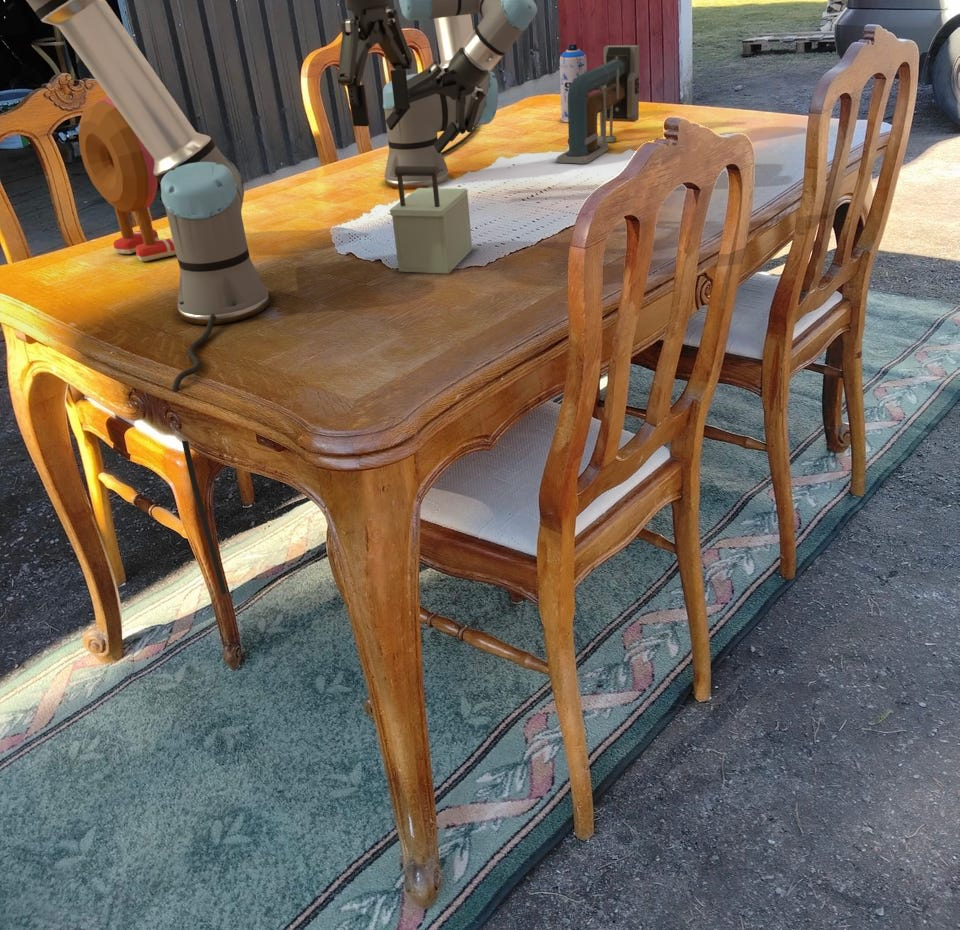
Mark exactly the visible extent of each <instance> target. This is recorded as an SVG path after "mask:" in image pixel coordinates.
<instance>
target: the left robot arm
mask: <svg viewBox="0 0 960 930" xmlns="http://www.w3.org/2000/svg"><path fill="white" fill-rule="evenodd" d="M25 1H26V2H27V3H28V5H29V6H30V7H31V8H32V10H33V11H34V13H35V14H36V16H37V17H38V19H40V21H41V22H42V23H45V24H49V25H52V26H55V27H57V28H58V30H59V31H60V32H61V33H62V35H63V36H64V38H65V39H66V40H67V42H68V43H69V44H70V46H71V47H72V49H73V50H74V51H75V53H76V55H77V56H78V57H79V58H80V60H81V61H82V62H83V64H84V66H86V68H87V69H88V71H89V72H90V74H91V75H92V76H93V78H94V79H95V80H96V82H97V83H98V84H99V86H100V87H101V89H102V90H103V91H104V93H105V94H106V95H107V97H108V99H111V101H112V102H113V104H114V105H115V106H116V108H117V109H118V111H119V112H120V113H121V115H122V116H123V117H124V119H125V120H126V122H127V123H128V124H129V126H130V127H131V128H132V130H133V131H134V133H135V134H136V135H137V137H138V138H139V139H140V141H141V142H142V144H143V145H144V146H145V148H146V149H147V151H148V152H149V153H150V155H151V156H152V157H153V159H154V163H155V164H154V171H153V174H154V175H155V177H156V178H157V182H159V184H160V191H161V192H160V195H161V197H160V198H161V202H162V204H163V206H164V208H165V212H166V213H165V214H166V217H167V221H168V225H169V229H170V234H171V238H173V242H174V246H175V250H176V255H175V256H176V258H177V262H178V266H179V283H178V294H177V310H178V314H179V318H180V319H182V320H183V321H184V322H186V323H189V324H193V325H202V326H203V325H204V326H205V325H206V328H205V331H204V332H203V334H202V335H201V336H200V337H199V338H198V339H196V340H195V341H194V342H193V343H192V344H190V346H189V347H188V349H187V355H188V358H189V359H190V360H191V361H192V363H193V366H192V367H190V368H187V369H184V370H183V371H181V372H180V373H179V374H177V376H175V378H174V380H173V384H172V389H171V391H172V393H177V392H178V391H180V385H181V383H182V381H183V379H185V378H186V377H189V376H190V375H194V374H196V373H197V372H198V371H199V370H200V367H201V361H200V360H199V358H198V357H197V355H196V354H195V350H196V349H197V348H198V347H199V346H201V345H202V344H203V343H204V342H205V341H206V340H207V339H209V337H210V335H211V333H212V330H213V327H214V325H222V324H230V323H233V322H239V321H241V320H245V319H248V318H251V317H253V316H256V315H258V314H260V312H263V311H264V310H265V309H266V308H267V307H268V306H269V305H270V296H269V291H268V289H267V287H266V284H265V283H264V282H263V280H262V278H261V276H260V274H259V272H258V270H257V269H256V267H255V265H254V264H253V262H252V260H251V257H250V251H249V246H248V241H247V236H246V232H245V227H244V222H243V221H244V220H243V216H242V210H243V202H244V197H245V185H244V182H243V178H242V175H241V174H240V172H239V169H237V166H236V165H235V164H234V163H233V162H232V161H231V160H230V159H229V158H227V157H226V156H224V155H223V153H222V152H221V150H220V149H219V148H218V146H217V145H216V144H215V142H214V141H213V139H212V138H211V136H209V135H207V134H203V133H199V132H197V131H196V130H195V128H194V127H193V126H192V124H191V123H190V121H189V119H188V118H187V117H186V115H185V114H184V112H183V110H181V108H180V106H179V105H178V103H177V102H176V101H175V99H174V98H173V97H172V95H171V94H170V92H169V91H168V89H167V88H166V86H165V85H164V83H163V81H161V79H160V77H159V76H158V75H157V73H156V72H155V70H154V69H153V67H152V66H151V65H150V63H149V62H148V61H147V59H146V57H145V56H144V54H143V53H142V51H141V50H140V48H139V47H138V46H137V44H136V43H135V41H134V39H132V37H131V34H129V33H128V31H127V30H126V28H125V27H124V25H123V24H122V23H121V21H120V19H119V18H118V16H117V15H116V14H115V12H114V10H113V9H112V7H111V6H110V5H109V4H108V2H107V0H25ZM344 2H345V8H346V10H347V11H351V12H352V18H348V19H345V18H343V19H342V20H341V23H340V25H341V44H340V50H339V51H340V53H339V62H338V68H337V69H338V70H337V78H336V79H337V80H336V81H337V83H338V84H340V85H341V87H342V86H343V87H346V88H347V95H348V100H349V101H348V102H349V106H350V111H351V118H352V126H353V127H369V126H370V120H369V114H368V113H369V112H368V105H367V98H366V92H365V91H366V89H365V84H361V83H362V79H363V75H364V70H365V67H366V62H367V59H368V56H369V52H370V50H371V49H372V48H373V46H374V45H376V44H378V46H379V47H380V49H381V51H382V52H383V54H384V55H385V57H386V59H387V60H388V62H389V64H390V65H391V67H392V69H391V70H390V72H389V73H390V79H391V80H390V81H392V89H393V98H394V106H395V109H410V106H409V96H408V87H407V76H406V75H407V70H411V69H412V63H413V56H412V53H411V51H410V48H409V45H408V42H407V40H406V37H405V35H404V34H405V33H404V32H403V29H402V26H401V24H400V21H399V13H398V10H397V9H396V8H389V7H391V4H392V0H344ZM386 8H387V9H386ZM181 444H182V448H183V454H184V458H185V463H186V467H187V472H188V475H189V479H190V483H191V487H192V493H193V496H194V500H195V503H196V507H197V510H198V514H199V517H200V522H201V525H202V528H203V532H204V536H205V539H206V543H207V546H208V550H209V554H210V558H211V561H212V564H213V565H212V566H213V568H214V572H215V576H216V579H217V583H218V587H219V590H220V594H221V595H226V594H227V589H226V588H227V587H226V585H225V580H224V577H223V574H222V569H221V566H220V561H219V558H218V554H217V550H216V546H215V543H214V539H213V536H212V533H211V529H210V526H209V525H210V524H209V522H208V517H207V514H206V511H205V507H204V503H203V499H202V495H201V491H200V487H199V484H198V483H199V482H198V479H197V475H196V471H195V466H194V462H193V457H192V454H191V448H190V442H189V440H181Z"/></svg>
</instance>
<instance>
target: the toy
mask: <svg viewBox="0 0 960 930" xmlns="http://www.w3.org/2000/svg"><path fill="white" fill-rule="evenodd" d="M78 146H79V152H80V155H81V156H80V157H81V160H82V163H83V166H84V169H85V171H86V173H87V175H88V177H89V179H90V181H91V184H93V186H94V187H95V189H96V190H97V191H98V193H99V194H100V195H101V196H102V198H104V200H105V201H106V202H107V203H108V204H109V205H111V206H112V207H113V209H114V212H115V215H116V218H117V223H118V226H119V230H120V234H121V237H120V238H118V239H116V240H114V241H113V248H114V252H115V253H117V254H122V255H130V254H134V253H135V254H136V257H137V259H138V260H139V261H141V262H147V261H148V262H149V261H153V260H157V259H164V258H167V257H172V256H177V255H176V250H175V246H174V242H173V238H172V237H169V238H165V239H160V238H159V234H158V232H157V230H156V229H154V228H153V224H152V219H151V215H150V212H149V209H148V208H149V207H150V206H151V205H152V203H153V202H154V200H155V198H156V195H157V190H158V179H157V178H156V177H155V175H154V174H153V171H154V164H155V163H154V159H153V157H152V156H151V155H150V153H149V152H148V151H147V149H146V148H145V146H144V145H143V144H142V142H141V141H140V139H139V138H138V137H137V135H136V134H135V133H134V131H133V130H132V128H131V127H130V126H129V124H128V123H127V122H126V120H125V119H124V117H123V116H122V115H121V113H120V112H119V111H118V109H117V108H116V106H115V105H114V104H113V102H112V101H111V99H110V98H107V97H103V98H101V99H99V100H97V101H95V102H93V103H91V104H89V105H88V106H86V107H85V108H84V109H83V110H82V114H81V116H80V120H79V124H78ZM133 212H135V215H136V219H137V223H138V227H139V229H138V230H136V231H134V230H133V226H132V225H133V224H132V220H131V217H130V213H133Z"/></svg>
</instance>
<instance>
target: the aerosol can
mask: <svg viewBox="0 0 960 930" xmlns="http://www.w3.org/2000/svg"><path fill="white" fill-rule="evenodd" d="M586 72H588V63H587V55H586V54H585V52H584V51H583V50H581V49H579V48H578V44H577V43H574V44H568V48H567V49H566V50H565V51H563V52H562V53H561V55H560V56H559V79H560V81H559V83H560V84H559V85H560V113H561V115H560V116H561V117H560V121H561V122H563V123H568V91H569V88H570V85H571V84H572V82H573V81H574V80H575V79H576V78H577V77H578V76H579V75H581V74H584V73H586Z"/></svg>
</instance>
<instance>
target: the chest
mask: <svg viewBox="0 0 960 930" xmlns="http://www.w3.org/2000/svg"><path fill="white" fill-rule="evenodd" d="M391 218H392V227H393V235H394V243H395V250H396V251H395V252H396V259H397V267H398V272H401V273H421V274H423V273H426V274H448V275H449V274H450V273H451V272H452V271H453V270H454V269H455V268H457V266H458V265H459V264H460V263H461V262H462V261H463V260H464V259H465V258H466V257H467V256H468V255H469V254H470V253H471V252H472V251H473V244H472V231H471V229H472V228H471V218H470V207H469V195H466V196H465V197H464V198H463V199H462V200H461V201H459V202H458V203H457V204H456V205H455V206H454V207H453V208H451V209H450V210H449V211H448V212H447V213H446V214H444V215H443V216H442V217H435V216H391Z"/></svg>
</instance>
